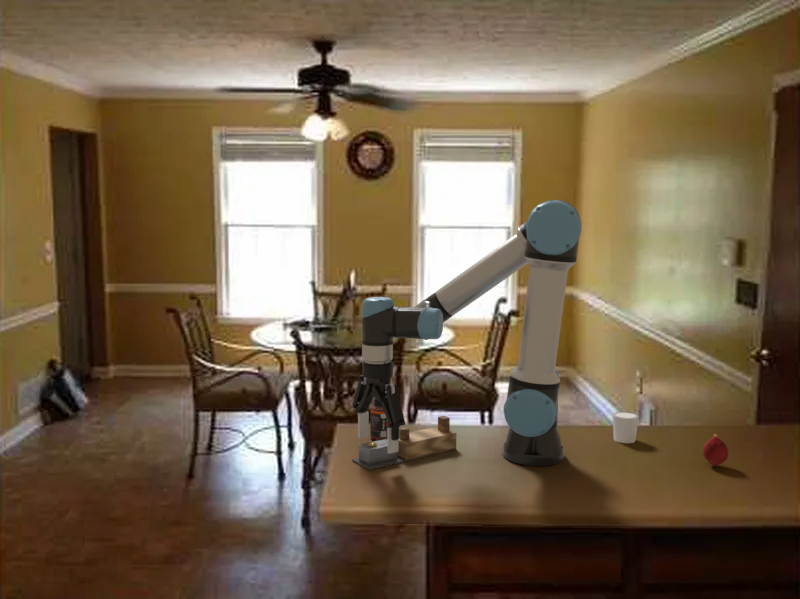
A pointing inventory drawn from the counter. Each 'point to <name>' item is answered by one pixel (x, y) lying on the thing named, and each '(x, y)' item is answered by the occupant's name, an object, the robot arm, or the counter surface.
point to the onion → (715, 451)
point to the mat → (376, 464)
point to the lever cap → (375, 453)
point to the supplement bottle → (378, 422)
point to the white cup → (625, 427)
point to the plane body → (426, 440)
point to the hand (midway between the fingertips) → (377, 444)
